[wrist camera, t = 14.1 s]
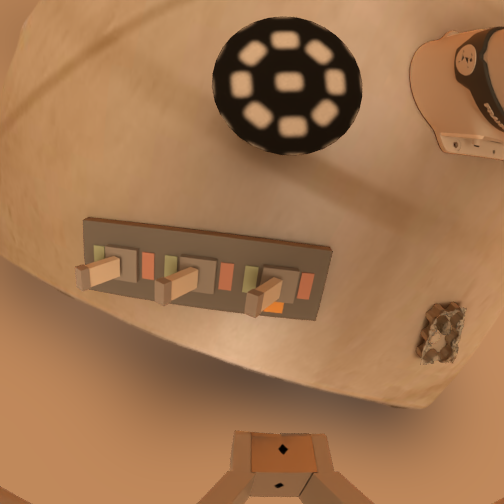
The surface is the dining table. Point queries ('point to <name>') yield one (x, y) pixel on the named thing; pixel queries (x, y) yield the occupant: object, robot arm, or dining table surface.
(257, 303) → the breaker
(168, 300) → the breaker mid
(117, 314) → the dining table surface
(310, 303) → the breaker panel
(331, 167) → the dining table surface
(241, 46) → the white-spotted black cylinder
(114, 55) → the dining table surface
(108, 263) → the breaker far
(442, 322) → the egg carton
